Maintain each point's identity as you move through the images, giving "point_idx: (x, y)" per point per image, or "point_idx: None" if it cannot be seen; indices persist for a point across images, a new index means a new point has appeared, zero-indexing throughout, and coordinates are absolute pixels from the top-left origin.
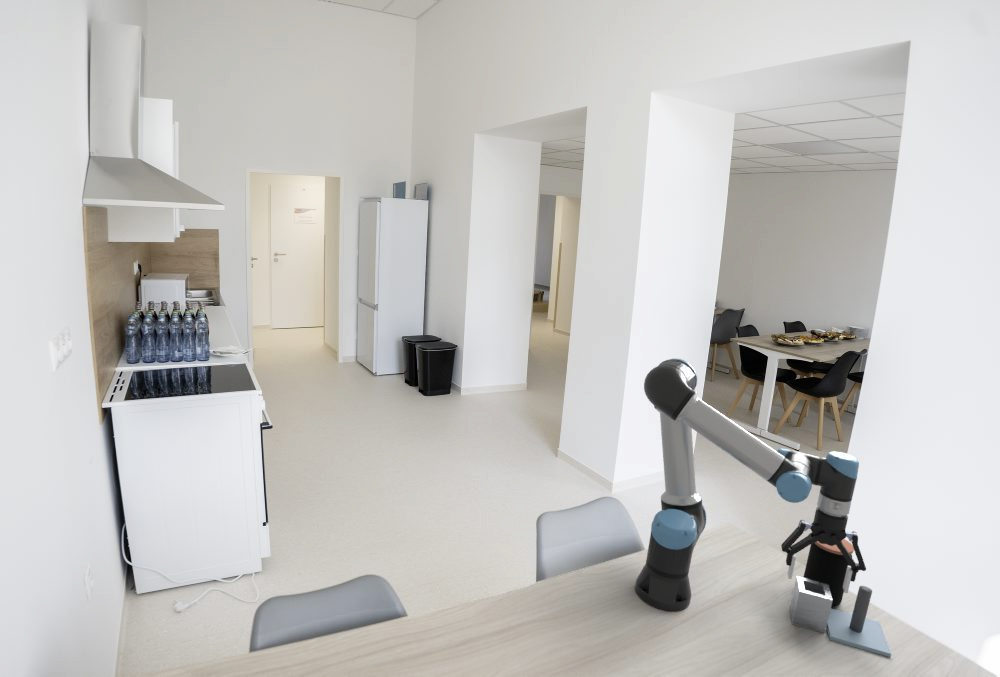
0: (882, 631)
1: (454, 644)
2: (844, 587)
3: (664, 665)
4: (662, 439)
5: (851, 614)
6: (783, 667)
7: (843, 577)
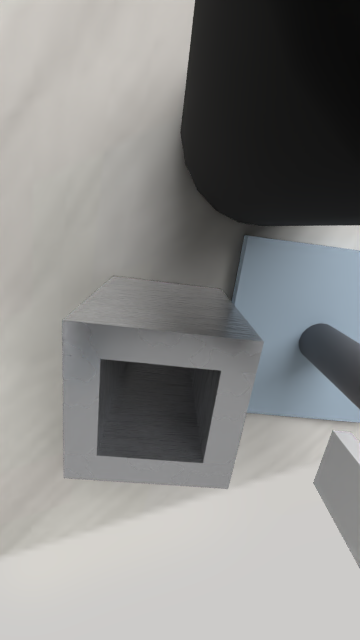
0: None
1: None
2: (332, 484)
3: None
4: None
5: (346, 252)
6: (66, 535)
7: None
